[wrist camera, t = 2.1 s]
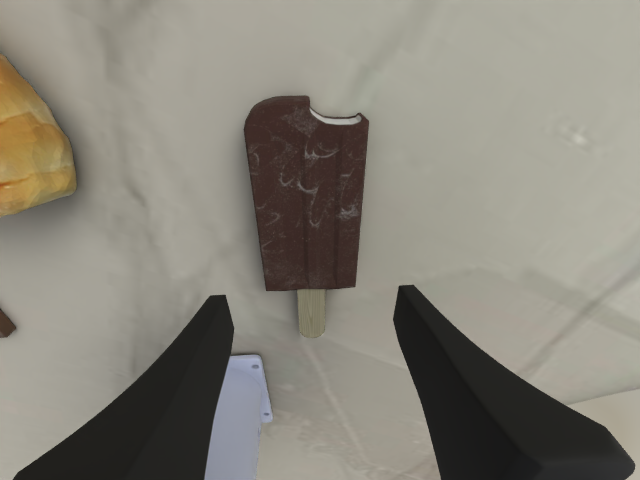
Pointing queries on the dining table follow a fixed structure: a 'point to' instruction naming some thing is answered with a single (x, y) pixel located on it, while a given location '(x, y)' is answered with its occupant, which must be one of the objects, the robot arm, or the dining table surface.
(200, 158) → the dining table surface
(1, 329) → the walnut board
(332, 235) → the ice cream bar
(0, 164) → the pastry
